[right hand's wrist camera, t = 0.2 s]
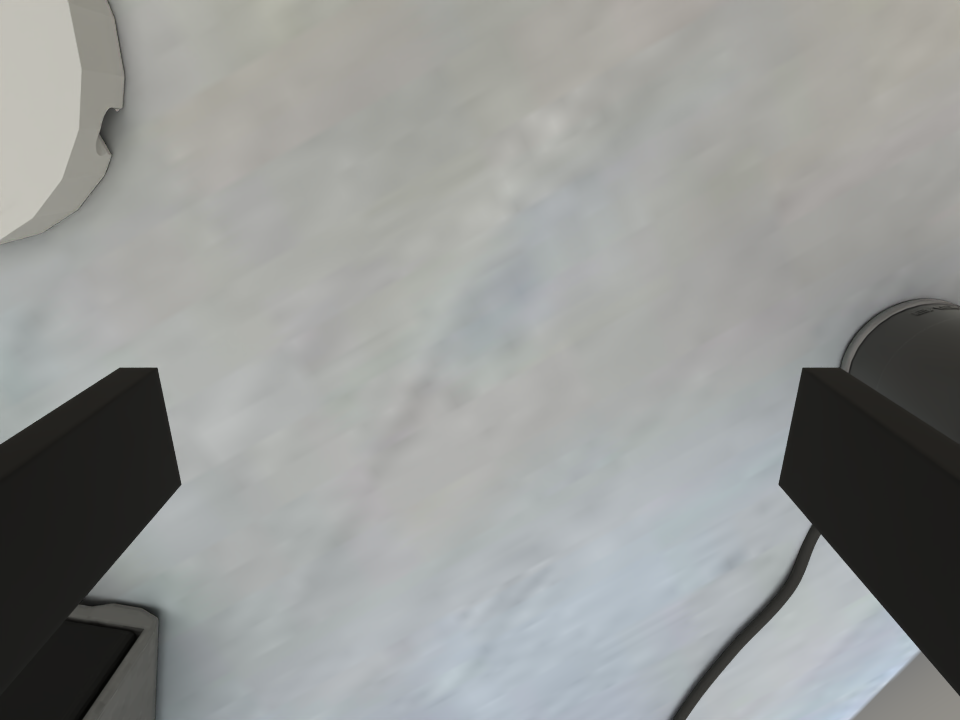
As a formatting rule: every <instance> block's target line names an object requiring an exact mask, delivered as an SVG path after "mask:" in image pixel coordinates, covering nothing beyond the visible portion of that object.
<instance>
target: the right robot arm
mask: <svg viewBox="0 0 960 720" xmlns="http://www.w3.org/2000/svg"><path fill="white" fill-rule="evenodd" d="M180 486H181V480H180V475H179V470H178V465H177V460H176V456H175V451H174V446H173V441H172V436H171V431H170V426H169V422H168V417H167V412H166V407H165V402H164V397H163V392H162V388H161V383H160V378H159V373H158V368H119V369H117V370H115V371H114V372H112V373H111V374H109V375H108V376H106V377H105V378H103V379H101V380H100V381H98V382H97V383H95V384H94V385H92V386H91V387H89V388H87V389H86V390H84V391H83V392H81V393H80V394H78V395H77V396H75V397H73V398H72V399H70V400H69V401H67V402H66V403H64V404H63V405H61V406H59V407H58V408H56V409H55V410H53V411H52V412H50V413H49V414H47V415H45V416H44V417H42V418H41V419H39V420H38V421H36V422H35V423H33V424H31V425H30V426H28V427H27V428H25V429H24V430H22V431H21V432H19V433H17V434H16V435H14V436H13V437H11V438H10V439H8V440H7V441H5V442H4V443H2V444H0V696H1V695H2V693H3V692H4V691H5V690H6V689H7V688H8V686H9V685H10V684H11V683H12V682H13V681H14V679H15V678H16V677H17V676H18V675H19V674H20V672H21V671H22V670H23V669H24V668H25V667H26V665H27V664H28V663H29V662H30V661H31V660H32V658H33V657H34V656H35V655H36V654H37V653H38V651H39V650H40V649H41V648H42V647H43V646H44V644H45V643H46V642H47V641H48V640H49V639H50V637H51V636H52V635H53V634H54V633H55V632H56V630H57V629H58V628H59V627H60V626H61V625H62V623H63V622H64V621H65V620H66V619H67V618H68V616H69V615H70V614H71V613H72V612H73V611H74V609H75V608H76V607H77V606H78V605H79V604H80V602H81V601H82V600H83V599H84V598H85V596H86V595H87V594H88V593H89V592H90V591H91V589H92V588H93V587H94V586H95V585H96V584H97V582H98V581H99V580H100V579H101V578H102V577H103V575H104V574H105V573H106V572H107V571H108V570H109V568H110V567H111V566H112V565H113V564H114V563H115V561H116V560H117V559H118V558H119V557H120V556H121V554H122V553H123V552H124V551H125V550H126V549H127V547H128V546H129V545H130V544H131V543H132V542H133V540H134V539H135V538H136V537H137V536H138V535H139V533H140V532H141V531H142V530H143V529H144V528H145V526H146V525H147V524H148V523H149V522H150V521H151V519H152V518H153V517H154V516H155V515H156V514H157V512H158V511H159V510H160V509H161V508H162V507H163V505H164V504H165V503H166V502H167V501H168V500H169V498H170V497H171V496H172V495H173V494H174V493H175V491H176V490H177V489H178V488H179V487H180ZM779 486H780V487H781V488H782V489H783V490H784V491H785V493H786V494H787V495H788V496H789V497H790V498H791V500H792V501H793V502H794V503H795V504H796V505H797V507H798V508H799V509H800V510H801V511H802V512H803V514H804V515H805V516H806V517H807V518H808V519H809V521H810V522H811V523H812V524H813V525H814V526H815V528H816V529H817V530H818V531H819V532H820V533H821V535H822V536H823V537H824V538H825V539H826V540H827V542H828V543H829V544H830V545H831V546H832V547H833V549H834V550H835V551H836V552H837V553H838V554H839V556H840V557H841V558H842V559H843V560H844V561H845V563H846V564H847V565H848V566H849V567H850V568H851V570H852V571H853V572H854V573H855V574H856V575H857V577H858V578H859V579H860V580H861V581H862V582H863V584H864V585H865V586H866V587H867V588H868V589H869V591H870V592H871V593H872V594H873V595H874V597H875V598H876V599H877V600H878V601H879V602H880V604H881V605H882V606H883V607H884V608H885V609H886V611H887V612H888V613H889V614H890V615H891V616H892V618H893V619H894V620H895V621H896V622H897V623H898V625H899V626H900V627H901V628H902V629H903V630H904V632H905V633H906V634H907V635H908V636H909V637H910V639H911V640H912V641H913V642H914V643H915V644H916V646H917V647H918V648H919V649H920V650H921V651H922V653H923V654H924V655H925V656H926V657H927V658H928V660H929V661H930V662H931V663H932V664H933V665H934V667H935V668H936V669H937V670H938V671H939V672H940V674H941V675H942V676H943V677H944V678H945V679H946V681H947V682H948V683H949V684H950V685H951V686H952V688H953V689H954V690H955V691H956V692H957V693H958V695H959V696H960V444H958V443H956V442H955V441H953V440H952V439H950V438H949V437H947V436H946V435H944V434H943V433H941V432H939V431H938V430H936V429H935V428H933V427H932V426H930V425H929V424H927V423H925V422H924V421H922V420H921V419H919V418H918V417H916V416H915V415H913V414H911V413H910V412H908V411H907V410H905V409H904V408H902V407H901V406H899V405H897V404H896V403H894V402H893V401H891V400H890V399H888V398H887V397H885V396H883V395H882V394H880V393H879V392H877V391H876V390H874V389H873V388H871V387H869V386H868V385H866V384H865V383H863V382H862V381H860V380H859V379H857V378H855V377H854V376H852V375H851V374H849V373H848V372H846V371H845V370H843V369H841V368H802V373H801V378H800V383H799V388H798V392H797V397H796V402H795V407H794V412H793V417H792V422H791V426H790V431H789V436H788V441H787V446H786V451H785V456H784V460H783V465H782V470H781V475H780V480H779Z"/></svg>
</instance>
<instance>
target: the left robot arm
mask: <svg viewBox="0 0 960 720" xmlns="http://www.w3.org/2000/svg"><path fill="white" fill-rule="evenodd" d="M841 369H843V370H845V371H846V372H848V373H849V374H851V375H852V376H854V377H855V378H857V379H859V380H860V381H862V382H863V383H865V384H866V385H868V386H869V387H871V388H873V389H874V390H876V391H877V392H879V393H880V394H882V395H883V396H885V397H887V398H888V399H890V400H891V401H893V402H894V403H896V404H897V405H899V406H901V407H902V408H904V409H905V410H907V411H908V412H910V413H911V414H913V415H915V416H916V417H918V418H919V419H921V420H922V421H924V422H925V423H927V424H929V425H930V426H932V427H933V428H935V429H936V430H938V431H939V432H941V433H943V434H944V435H946V436H947V437H949V438H950V439H952V440H953V441H955V442H956V443H958V444H960V306H958V305H955V304H952V303H949V302H946V301H942V300H937V299H918V300H912V301H907V302H904V303H901V304H898V305H895V306H893V307H891V308H889V309H887V310H885V311H883V312H882V313H880V314H878V315H877V316H876V317H874V318H873V319H872V320H870V321H869V322H868V323H867V324H866V325H865V326H864V327H863V328H862V329H861V330H860V331H859V332H858V333H857V335H856V336H855V337H854V338H853V340H852V342H851V343H850V345H849V347H848V348H847V350H846V353H845V355H844V358H843V361H842V364H841ZM820 535H821V533H820V532H819V531H818V530H817V529H816V528H815V526H814V525H812V527H811V528H810V530H809V532H808V534H807V536H806V538H805V540H804V542H803V544H802V547H801V549H800V552H799V554H798V557H797V560H796V563H795V565H794V568H793V570H792V572H791V574H790V576H789V578H788V580H787V581H786V583H785V584H784V586H783V587H782V589H781V590H780V591H779V593H778V594H777V595H776V596H775V598H774V599H773V600H772V601H771V602H770V603H769V605H768V606H767V607H766V608H765V609H764V610H763V611H762V612H761V613H760V614H759V615H758V616H757V617H756V618H755V619H754V620H753V621H752V622H751V623H750V624H749V625H748V626H747V627H746V628H745V629H744V630H743V631H742V632H741V633H740V635H739V636H738V637H737V638H736V639H735V640H734V641H733V642H732V643H731V644H730V646H729V647H728V648H727V649H726V650H725V651H724V653H723V654H722V655H721V656H720V657H719V658H718V660H717V661H716V662H715V663H714V664H713V666H712V667H711V668H710V669H709V671H708V672H707V673H706V674H705V675H704V677H703V678H702V679H701V680H700V682H699V683H698V684H697V686H696V687H695V688H694V690H693V691H692V692H691V694H690V695H689V697H688V698H687V699H686V701H685V702H684V704H683V705H682V707H681V708H680V710H679V711H678V713H677V714H676V716H675V717H674V719H673V720H686V718H687V717H688V715H689V714H690V713H691V711H692V710H693V708H694V707H695V705H696V704H697V703H698V701H699V700H700V699H701V697H702V696H703V695H704V693H705V692H706V691H707V689H708V688H709V687H710V686H711V684H712V683H713V682H714V681H715V679H716V678H717V677H718V676H719V675H720V673H721V672H722V671H723V670H724V669H725V668H726V666H727V665H728V664H729V663H730V662H731V661H732V659H733V658H734V657H735V656H736V655H737V654H738V652H739V651H740V650H741V649H742V648H743V647H744V646H745V645H746V644H747V643H748V642H749V641H750V640H751V639H752V638H753V637H754V636H755V635H756V634H757V633H758V632H759V631H760V630H761V629H762V628H763V627H764V626H765V625H766V624H767V623H768V622H769V621H770V620H771V619H772V617H773V616H774V615H775V614H776V613H777V612H778V611H779V610H780V609H781V608H782V606H783V605H784V604H785V603H786V602H787V600H788V599H789V598H790V597H791V595H792V594H793V592H794V591H795V589H796V588H797V586H798V585H799V583H800V581H801V579H802V577H803V575H804V572H805V570H806V567H807V565H808V562H809V559H810V557H811V554H812V551H813V549H814V546H815V544H816V542H817V540H818V538H819V536H820Z"/></svg>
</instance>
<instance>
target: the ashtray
mask: <svg viewBox="0 0 960 720" xmlns="http://www.w3.org/2000/svg"><path fill="white" fill-rule="evenodd" d="M124 78H125V76H124V70H123V65H122V59H121V53H120V48H119V42H118V36H117V30H116V25H115V19H114V16H113V13H112V11H111V9H110V6H109V4H108V1H107V0H0V245H1V244H4V243H8V242H12V241H15V240H19V239H23V238H26V237H30V236H34V235H38V234H41V233H43V232H45V231H46V230H48V229H49V228H51V227H52V226H54V225H55V224H57V223H58V222H60V221H61V220H63V219H64V218H66V217H67V216H69V215H70V214H72V213H74V212H75V211H77V210H78V209H79V207H80V206H81V205H82V204H83V202H84V201H85V200H86V198H87V197H88V196H89V195H90V193H91V192H92V191H93V189H94V188H95V187H96V186H97V184H98V183H99V182H100V180H101V179H102V178H103V177H104V175H105V173H106V170H107V167H108V164H109V162H110V159H111V156H112V155H111V153H110V152H109V150H108V148H107V146H106V145H105V143H104V141H103V139H102V138H101V136H100V134H99V132H100V129H101V124H102V121H103V118H104V115H105V113H106V111H107V110H108V109H109V108H114V109H115V110H116V111H117V112H118V110H119V109H122V108H123V93H124Z"/></svg>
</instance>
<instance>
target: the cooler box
mask: <svg viewBox="0 0 960 720" xmlns="http://www.w3.org/2000/svg"><path fill="white" fill-rule="evenodd" d="M158 627H159V619H158V618H157V617H156V616H154V615H152V614H151V613H149V612H147V611H146V610H144V609H142V608H138V607H133V606H127V605H121V604H115V603H112V604H106V605H99V606H93V607H91V606H85V605H78V606H77V607H76V608H75V609H74V611H73V612H72V613H71V614H70V615H69V616H68V618H67V619H66V620H65V621H64V622H63V623H62V625H61V626H60V627H59V628H58V629H57V630H56V632H55V633H54V634H53V635H52V636H51V637H50V639H49V640H48V641H47V642H46V643H45V644H44V646H43V647H42V648H41V649H40V650H39V651H38V653H37V654H36V655H35V656H34V657H33V658H32V660H31V661H30V662H29V663H28V664H27V665H26V667H25V668H24V669H23V670H22V671H21V672H20V674H19V675H18V676H17V677H16V678H15V679H14V681H13V682H12V683H11V684H10V685H9V686H8V688H7V689H6V690H5V691H4V692H3V693H2V695H1V696H0V720H155V704H156V678H157V653H158Z"/></svg>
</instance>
